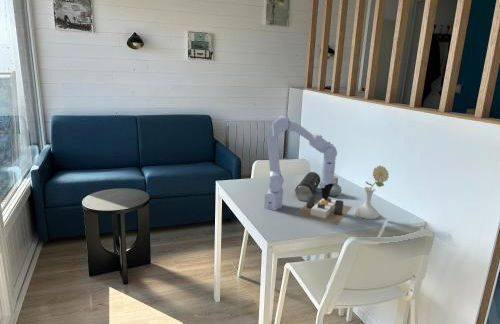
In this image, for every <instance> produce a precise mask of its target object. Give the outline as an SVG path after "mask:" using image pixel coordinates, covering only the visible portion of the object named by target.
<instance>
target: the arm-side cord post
mask: <svg viewBox="0 0 500 324" xmlns="http://www.w3.org/2000/svg"><path fill="white" fill-rule="evenodd" d="M315 199H316V195H315V194H314V195H312V194H309V195H308V196H307V201H306V204H307V208H309V209H311V208H312V207H313V206H314V203H315Z"/></svg>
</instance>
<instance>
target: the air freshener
mask: <svg viewBox="0 0 500 324" xmlns="http://www.w3.org/2000/svg"><path fill="white" fill-rule="evenodd" d="M334 181H336V183H331V184H334V185H333V187H332V189H331V191H330V194H329V197H333V196H334V197H336V196H339V195H340V194H341V193H342V187H341V186H340V185H339V184H338V183H339V177H338V176H337V175H336V176H335V175H334Z"/></svg>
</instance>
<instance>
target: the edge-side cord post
mask: <svg viewBox="0 0 500 324" xmlns="http://www.w3.org/2000/svg"><path fill="white" fill-rule="evenodd" d="M335 200H336V199H335ZM343 205H344V200H341V199H337V200H336V201H335V210H334V214H336V215H342V211H343Z"/></svg>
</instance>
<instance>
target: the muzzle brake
mask: <svg viewBox="0 0 500 324" xmlns="http://www.w3.org/2000/svg"><path fill="white" fill-rule="evenodd" d="M320 179H321V175H320V174H318V173H317V172H314V171H310V172H308V173H307V174H305V176H304V177H303V179H302V180H301V181H300V182H299V183H298V184H297V185H296V187H295V189H294V194H295V197H296V198H297V200H299V201H301V202H307V196H308V195H309V194H312V195H315V192H316V191H317V189H318V187H319V186H320Z"/></svg>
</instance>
